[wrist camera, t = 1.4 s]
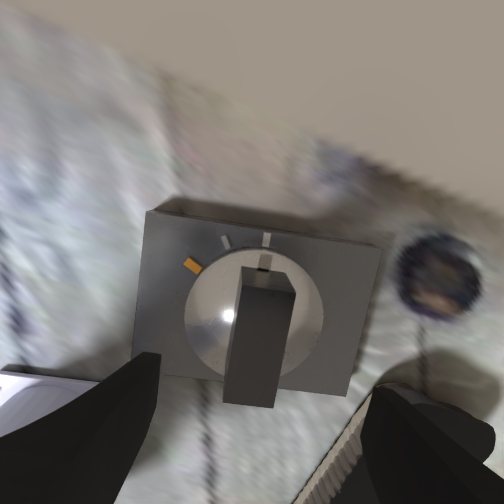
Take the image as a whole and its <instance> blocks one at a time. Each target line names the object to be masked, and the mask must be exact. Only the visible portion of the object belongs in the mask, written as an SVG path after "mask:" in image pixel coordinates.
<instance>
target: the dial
mask: <svg viewBox="0 0 504 504" xmlns="http://www.w3.org/2000/svg"><path fill="white" fill-rule="evenodd" d="M184 321H185V329H186V334H187V337H188V340H189V342H190V344H191V346H192V348H193V350H194V351H195V353H196V354H197V355H198V357H199V358H200V359H201V360H202V361H203V362H204V363H205V364H206V365H207V366H208V367H210V368H211V369H212V370H214V371H216V372H217V373H219V374H221V375H223V376H224V388H223V402H222V403H231V404H239V405H248V406H256V407H265V408H273V407H274V402H275V397H276V392H277V387H278V382H279V377H280V376H282V375H284V374H286V373H288V372H290V371H291V370H293V369H294V368H296V367H297V366H298V365H300V364H301V363H302V362H303V361H304V360H305V359H306V358H307V357H308V356H309V354H310V353H311V352H312V350H313V349H314V347H315V345H316V343H317V341H318V339H319V337H320V333H321V330H322V325H323V305H322V300H321V297H320V294H319V291H318V289H317V287H316V285H315V283H314V282H313V280H312V279H311V277H310V276H309V275H308V274H307V272H306V271H305V270H304V269H303V268H302V267H301V266H300V265H299V264H298V263H297V262H295V261H294V260H293V259H291V258H290V257H288V256H286V255H284V254H282V253H279V252H276V251H273V250H269V249H263V248H245V249H240V250H236V251H232V252H229V253H227V254H225V255H223V256H221V257H219V258H217V259H216V260H214V261H213V262H212V263H210V264H209V265H208V266H207V267H206V268H205V269H204V270H203V271H202V272H201V273H200V275H199V276H198V277H197V279H196V280H195V282H194V284H193V286H192V288H191V290H190V293H189V295H188V298H187V301H186V306H185V315H184Z"/></svg>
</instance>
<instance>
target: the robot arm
mask: <svg viewBox="0 0 504 504" xmlns="http://www.w3.org/2000/svg"><path fill="white" fill-rule="evenodd" d="M161 355H162V354H157V353H151V352H144V351H143V352H142V353H140V354H139V355H138V356H136V357H135V358H133V359H132V360H131V361H129V362H128V363H127V364H125V365H124V366H122V367H121V368H120V369H118V370H117V371H116V372H114V373H113V374H111V375H110V376H109V377H107V378H106V379H104V380H103V381H101V382H92V381H84V380H75V379H67V378H59V377H50V376H42V375H33V374H25V373H17V372H8V371H0V385H1V386H2V387H0V504H114V502H115V500H116V498H117V496H118V494H119V492H120V489H121V487H122V485H123V483H124V481H125V479H126V477H127V475H128V473H129V471H130V469H131V467H132V464H133V462H134V460H135V458H136V456H137V454H138V452H139V450H140V448H141V446H142V443H143V441H144V439H145V437H146V434H147V431H148V429H149V426H150V423H151V420H152V417H153V414H154V411H155V408H156V403H157V394H158V384H159V375H160V365H161ZM360 441H361V445H362V450H363V454H364V458H365V462H366V466H367V469H368V472H369V475H370V478H371V481H372V483H373V486H374V489H375V492H376V494H377V497H378V500H379V503H380V504H504V479H503V478H501V477H500V476H499V475H497V474H496V473H495V472H493V471H492V470H490V469H489V468H488V467H487V466H485V465H484V464H483V463H481V462H480V461H479V460H478V459H476V458H475V457H474V456H472V455H471V454H470V453H469V452H467V451H466V450H465V449H464V448H462V447H461V446H460V445H459V444H457V443H456V442H455V441H454V440H453V439H451V438H450V437H449V436H448V435H447V434H445V433H444V432H443V431H442V430H441V429H439V428H438V427H437V426H436V425H435V424H434V423H432V422H431V421H430V420H429V419H428V418H427V417H425V416H424V415H423V414H422V413H421V412H420V411H418V410H417V409H416V408H415V407H414V406H413V405H411V404H410V403H409V402H408V401H407V400H405V399H404V398H403V397H402V396H401V395H399V394H398V393H397V392H395V391H394V390H393V389H388V388H381V387H375V386H374V389H373V392H372V396H371V399H370V403H369V406H368V409H367V413H366V416H365V420H364V423H363V426H362V430H361V433H360Z"/></svg>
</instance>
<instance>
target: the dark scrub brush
mask: <svg viewBox="0 0 504 504" xmlns="http://www.w3.org/2000/svg"><path fill="white" fill-rule="evenodd" d="M376 387H381V388H388V389H393V390H394V391H395V392H397V393H398V394H399V395H401V396H402V397H403V398H404V399H405V400H407V401H408V402H409V403H410V404H411V405H413V406H414V407H415V408H416V409H417V410H418V411H420V412H421V413H422V414H423V415H424V416H425V417H427V418H428V419H429V420H430V421H431V422H432V423H434V424H435V425H436V426H437V427H438V428H439V429H441V430H442V431H443V432H444V433H445V434H447V435H448V436H449V437H450V438H451V439H453V440H454V441H455V442H456V443H457V444H459V445H460V446H461V447H462V448H464V449H465V450H466V451H467V452H469V453H470V454H471V455H472V456H474V457H475V458H476V459H478V460H479V461H480V462H481V463H483V462H484V461H485V460H486V459H487V458H488V457H489V456H490V454H491V453H492V452H493V450H494V446H495V440H496V434H495V431H494V428H493V427H492V426H490V425H489V424H488V423H485V422H483V421H481V420H478V419H476V418H474V417H473V416H472V415H470V414H469V413H467V412H465V411H463V410H462V409H460V408H458V407H455V406H453V405H449V404H446V403H442V402H438V401H435V400H432V399H431V398H429V397H427V396H425V395H424V394H422V393H421V392H419V391H418V390H416V389H415V388H413V387H412V386H410V385H408V384H405V383H385V384H381V385H378V386H376ZM371 396H372V393H371V394H370V395H369V396H368V398H367V399H366V401H365V403H364V404H363V406H362V407H361V408H360V409H359V410H358V412H356V413H355V414H354V415H353V417H352V420H351V422H350V423H349V424H348V426H347V428H345V430H344V432H343V434H342V435H341V436H340V438H339V439H338V441H337V443H336V444H335V445H334V446H333V448H332V450H330V451H329V452H328V455H327V457H326V458H325V459H324V460H323V462H322V464H321V465H320V466H319V467H318V469H317V470H316V472H315V473H314V474H313V477H312V478H311V479H310V480H309V482H308V484H307V485H306V486H304V489H303V491H302V492H301V493H299V497H298V498H297V499H296V501H295V502H294V503H293V504H380V503H379V500H378V497H377V494H376V492H375V489H374V486H373V483H372V481H371V478H370V475H369V472H368V469H367V466H366V462H365V458H364V454H363V450H362V445H361V441H360V433H361V430H362V426H363V423H364V420H365V416H366V413H367V409H368V406H369V403H370V399H371Z"/></svg>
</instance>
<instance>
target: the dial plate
mask: <svg viewBox="0 0 504 504" xmlns="http://www.w3.org/2000/svg"><path fill="white" fill-rule="evenodd" d="M245 248H263V249H269V250H273V251H276V252H279V253H282V254H284V255H286V256H288V257H290V258H291V259H293V260H294V261H295V262H297V263H298V264H299V265H300V266H301V267H302V268H303V269H304V270H305V271H306V272H307V274H308V275H309V276H310V277H311V279H312V280H313V282H314V283H315V285H316V287H317V289H318V291H319V294H320V297H321V300H322V305H323V325H322V330H321V333H320V337H319V339H318V341H317V343H316V345H315V347H314V349H313V350H312V352H311V353H310V354H309V356H308V357H307V358H306V359H305V360H304V361H303V362H302V363H301V364H300V365H298V366H297V367H296V368H294V369H293V370H291V371H290V372H288V373H286V374H284V375H282V376H280V377H279V382H278V387H277V388H279V389H287V390H295V391H303V392H311V393H319V394H328V395H336V396H344V397H346V394H347V390H348V386H349V382H350V378H351V374H352V370H353V366H354V362H355V358H356V354H357V350H358V346H359V342H360V338H361V334H362V330H363V326H364V322H365V318H366V314H367V310H368V306H369V302H370V298H371V294H372V290H373V286H374V282H375V278H376V274H377V270H378V266H379V262H380V258H381V254H382V250H383V249H381V248H379V247H376V246H374V245H371V244H364V243H358V242H352V241H346V240H339V239H333V238H327V237H321V236H315V235H308V234H302V233H296V232H290V231H283V230H277V229H271V228H265V227H258V226H252V225H246V224H240V223H234V222H227V221H221V220H215V219H209V218H202V217H196V216H190V215H184V214H177V213H171V212H165V211H159V210H150V211H146V216H145V226H144V236H143V246H142V256H141V266H140V275H139V285H138V295H137V305H136V315H135V325H134V335H133V345H132V355H131V360H132V359H133V358H135V357H136V356H138V355H139V354H140V353H142V352H143V351H144V352H151V353H157V354H162V355H161V365H160V374H165V375H173V376H181V377H189V378H197V379H205V380H214V381H222V382H224V376H223V375H221V374H219V373H217V372H216V371H214V370H212V369H211V368H210V367H208V366H207V365H206V364H205V363H204V362H203V361H202V360H201V359H200V358H199V357H198V355H197V354H196V353H195V351H194V350H193V348H192V346H191V344H190V342H189V340H188V337H187V334H186V329H185V321H184V315H185V306H186V301H187V298H188V295H189V293H190V290H191V288H192V286H193V284H194V282H195V280H196V279H197V277H198V276H199V275H200V273H201V272H202V271H203V270H204V269H205V268H206V267H207V266H208V265H209V264H210V263H212V262H213V261H214V260H216V259H217V258H219V257H221V256H223V255H225V254H227V253H229V252H232V251H236V250H240V249H245Z"/></svg>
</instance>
